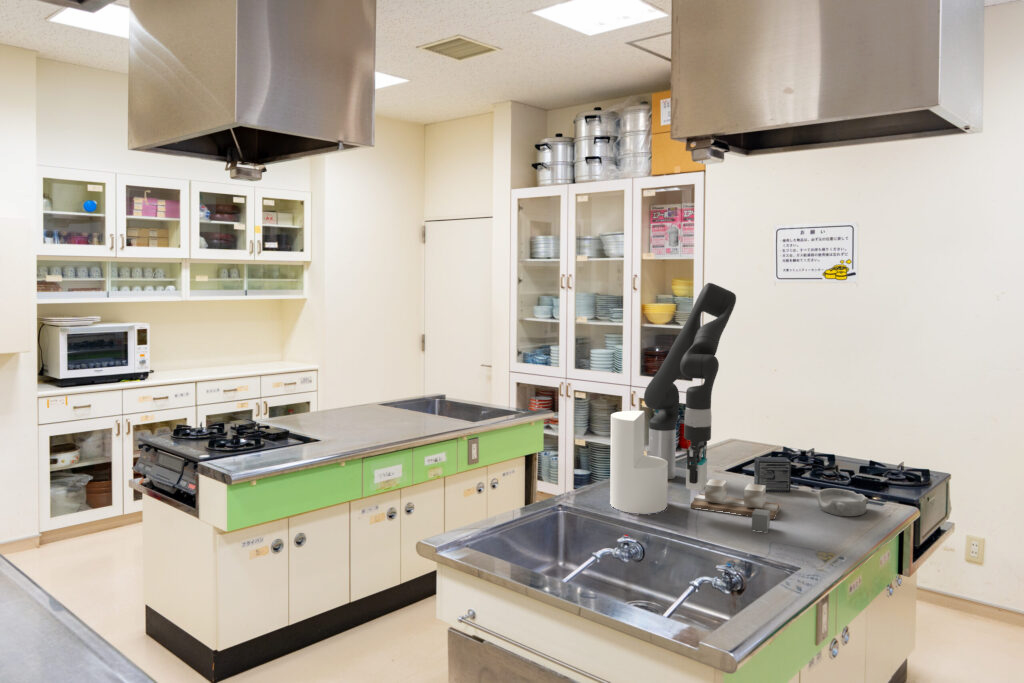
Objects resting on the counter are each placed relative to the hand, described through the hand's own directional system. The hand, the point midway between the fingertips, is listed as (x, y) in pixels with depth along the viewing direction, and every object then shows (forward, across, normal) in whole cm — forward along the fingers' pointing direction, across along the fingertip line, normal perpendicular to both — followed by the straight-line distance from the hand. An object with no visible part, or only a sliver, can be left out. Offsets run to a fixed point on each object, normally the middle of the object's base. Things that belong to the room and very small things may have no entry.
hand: (696, 479), depth 218 cm
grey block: (+11, +2, +19) cm, 22 cm away
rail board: (+11, -14, +8) cm, 20 cm away
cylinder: (+12, -4, -18) cm, 22 cm away
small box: (+12, -40, +15) cm, 44 cm away
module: (+2, 0, 0) cm, 2 cm away
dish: (+11, -27, +37) cm, 48 cm away
